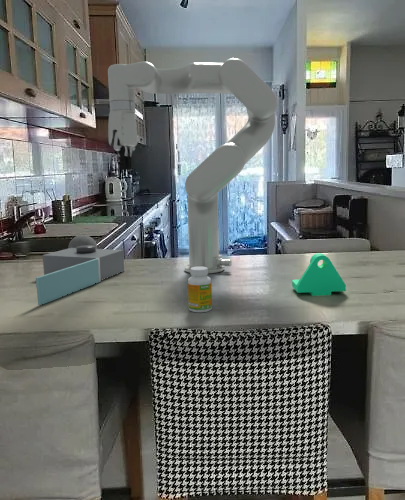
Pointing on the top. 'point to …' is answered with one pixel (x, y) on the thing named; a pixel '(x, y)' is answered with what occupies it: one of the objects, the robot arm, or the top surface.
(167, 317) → the top surface
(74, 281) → the door
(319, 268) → the camera mount
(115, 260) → the grey box with knob
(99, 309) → the top surface
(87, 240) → the decorative ball
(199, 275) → the supplement bottle
